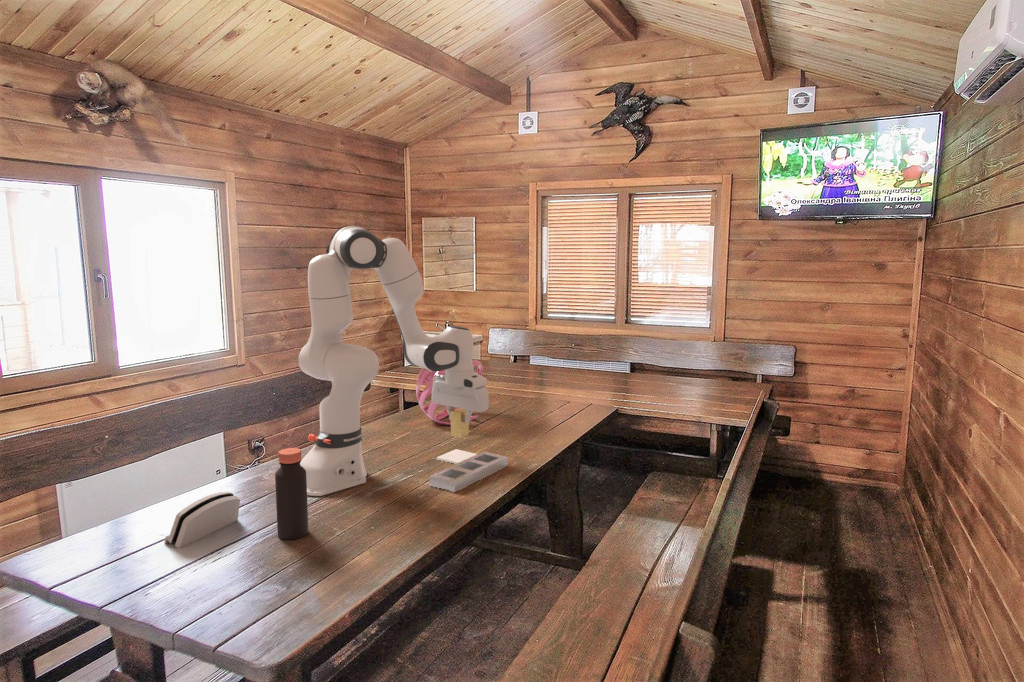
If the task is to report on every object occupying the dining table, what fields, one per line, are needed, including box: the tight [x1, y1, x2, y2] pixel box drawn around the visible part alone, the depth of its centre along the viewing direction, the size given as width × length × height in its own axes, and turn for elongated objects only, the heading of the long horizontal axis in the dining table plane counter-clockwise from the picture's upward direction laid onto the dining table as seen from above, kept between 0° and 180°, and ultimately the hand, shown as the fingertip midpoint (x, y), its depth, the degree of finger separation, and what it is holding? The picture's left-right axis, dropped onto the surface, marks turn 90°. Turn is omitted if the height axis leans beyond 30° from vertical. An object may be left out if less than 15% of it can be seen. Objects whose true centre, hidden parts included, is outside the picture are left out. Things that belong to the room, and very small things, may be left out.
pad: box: [435, 448, 478, 465], centre depth 204 cm, size 10×10×1 cm
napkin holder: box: [163, 491, 241, 549], centre depth 150 cm, size 17×5×10 cm, turn 156°
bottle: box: [274, 447, 309, 541], centre depth 149 cm, size 7×7×20 cm
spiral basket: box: [415, 358, 484, 426], centre depth 245 cm, size 28×28×27 cm
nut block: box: [450, 408, 470, 439], centre depth 203 cm, size 4×4×8 cm
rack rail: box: [429, 451, 509, 493], centre depth 189 cm, size 26×9×3 cm, turn 147°
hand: (459, 421), depth 202 cm, fingers closed on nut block, 4 cm apart
